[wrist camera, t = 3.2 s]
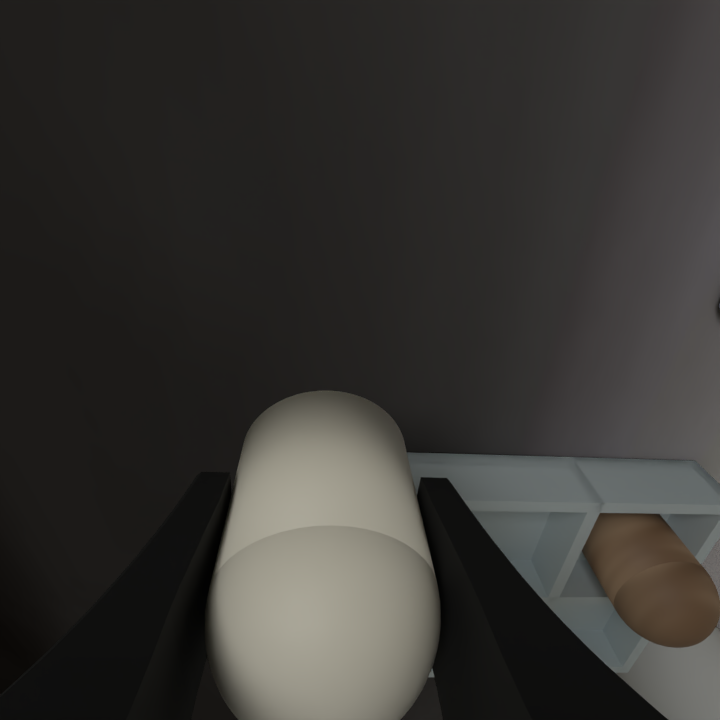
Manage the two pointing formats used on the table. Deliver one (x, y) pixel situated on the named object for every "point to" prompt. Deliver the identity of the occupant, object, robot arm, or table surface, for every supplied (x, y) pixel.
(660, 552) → the walnut egg
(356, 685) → the cream egg
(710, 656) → the milk bottle
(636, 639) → the egg carton
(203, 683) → the table surface
